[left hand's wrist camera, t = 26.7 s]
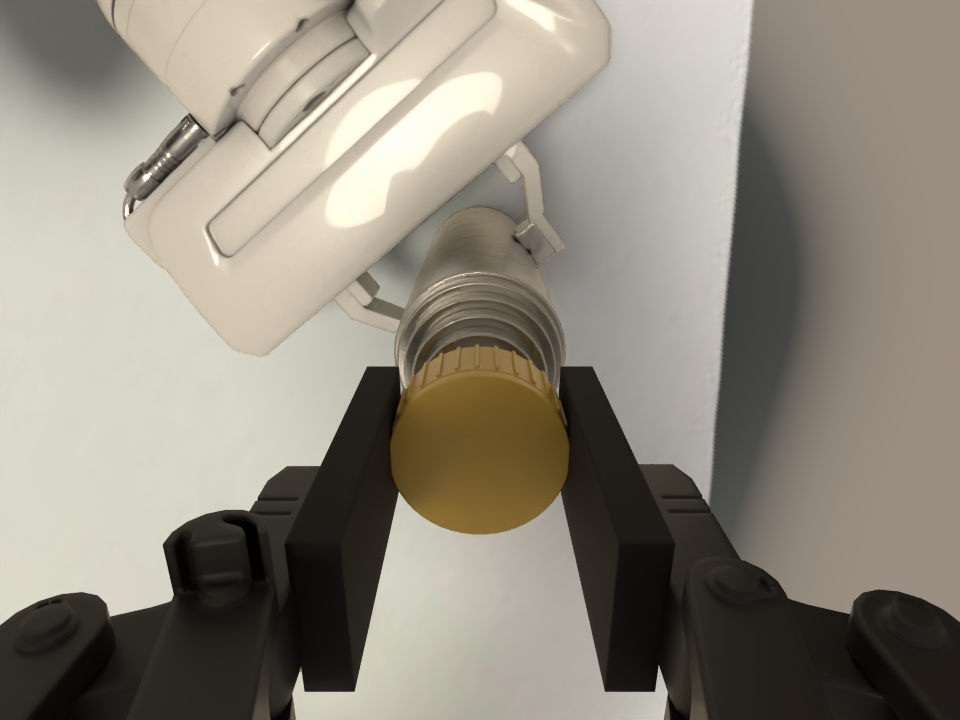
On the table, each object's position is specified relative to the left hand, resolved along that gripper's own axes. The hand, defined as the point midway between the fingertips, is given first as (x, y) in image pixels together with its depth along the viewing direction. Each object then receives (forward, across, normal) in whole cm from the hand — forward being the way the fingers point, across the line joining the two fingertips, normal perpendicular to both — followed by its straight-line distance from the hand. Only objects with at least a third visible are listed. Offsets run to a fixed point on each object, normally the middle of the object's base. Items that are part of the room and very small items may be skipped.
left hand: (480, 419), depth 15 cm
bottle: (+20, 0, 0) cm, 20 cm away
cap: (-2, 0, 0) cm, 2 cm away
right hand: (+13, -1, +1) cm, 13 cm away
